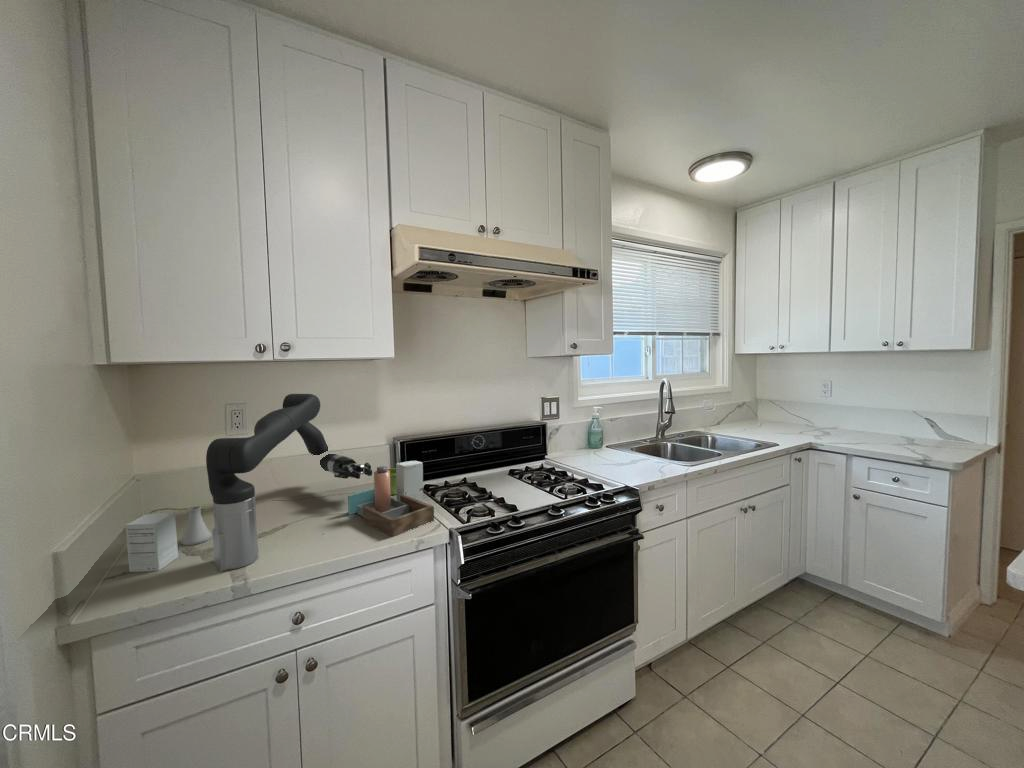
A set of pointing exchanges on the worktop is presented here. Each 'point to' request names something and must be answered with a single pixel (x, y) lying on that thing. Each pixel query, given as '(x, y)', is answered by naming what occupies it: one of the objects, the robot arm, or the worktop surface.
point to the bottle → (382, 489)
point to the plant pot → (393, 480)
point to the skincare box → (409, 480)
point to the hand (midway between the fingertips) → (365, 474)
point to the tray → (368, 499)
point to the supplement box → (151, 542)
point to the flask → (195, 528)
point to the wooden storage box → (395, 526)
